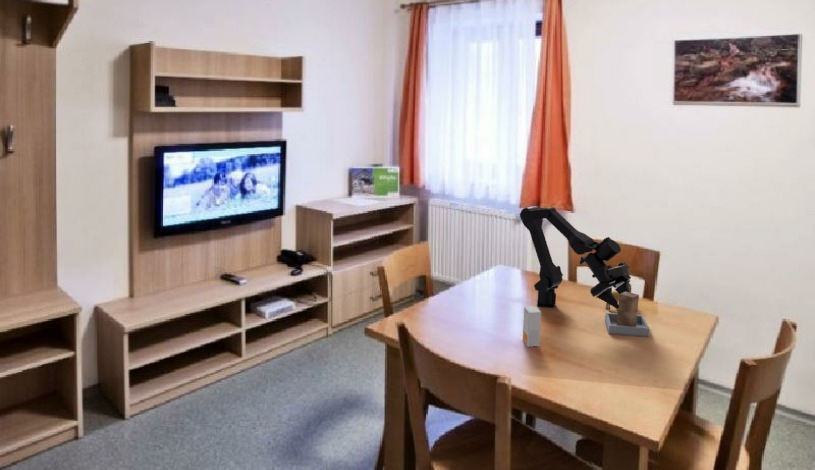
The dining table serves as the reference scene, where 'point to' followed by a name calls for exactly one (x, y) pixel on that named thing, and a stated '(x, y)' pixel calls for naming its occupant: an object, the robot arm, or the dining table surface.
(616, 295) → the lion figurine
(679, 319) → the dining table surface
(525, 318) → the skincare box
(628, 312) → the walnut block
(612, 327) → the tray
